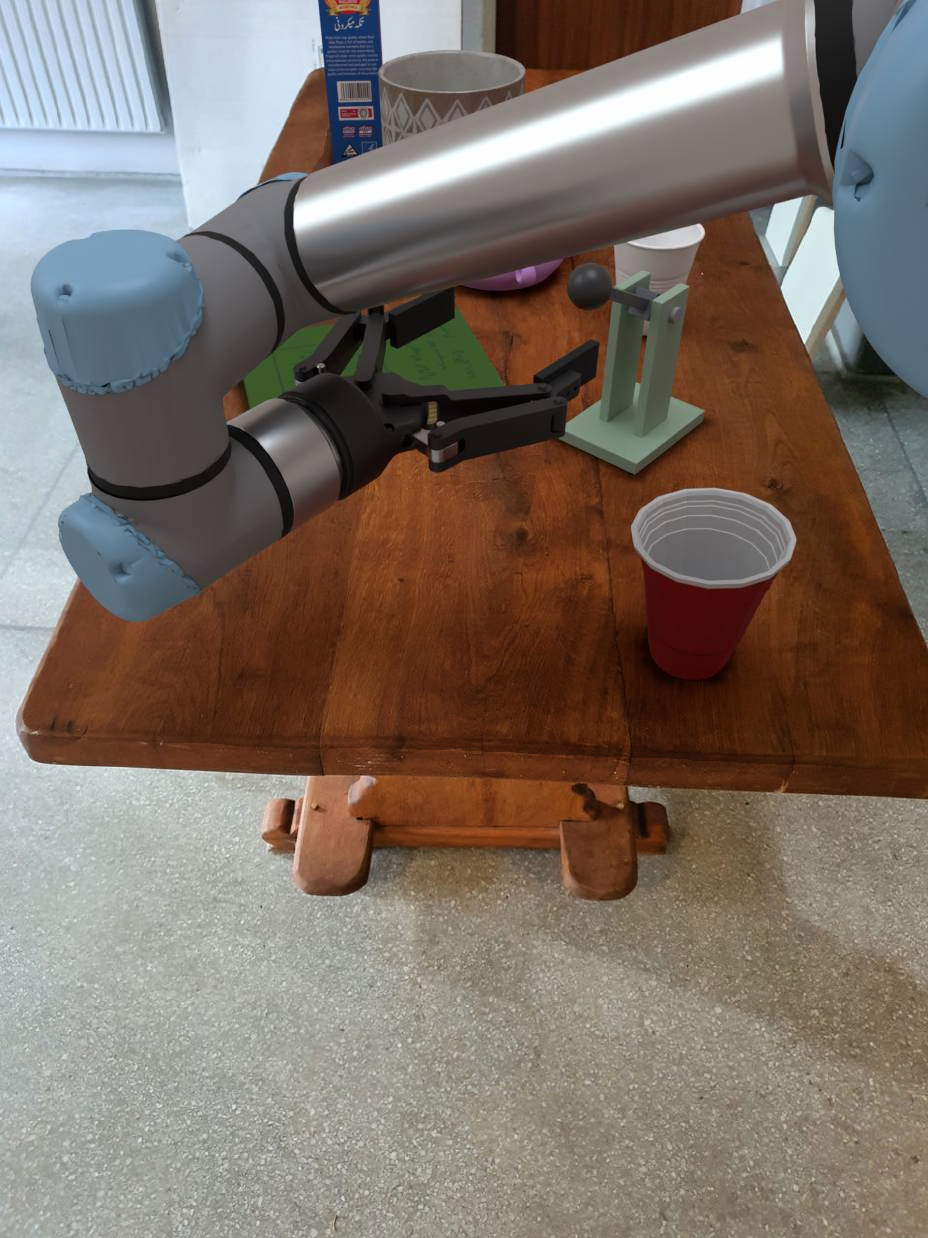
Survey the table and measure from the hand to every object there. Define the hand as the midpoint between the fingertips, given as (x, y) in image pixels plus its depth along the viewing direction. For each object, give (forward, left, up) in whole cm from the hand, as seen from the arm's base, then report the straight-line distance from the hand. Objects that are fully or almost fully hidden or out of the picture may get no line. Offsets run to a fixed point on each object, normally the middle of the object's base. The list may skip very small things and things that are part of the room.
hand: (519, 327), depth 70 cm
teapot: (+23, -45, -18) cm, 54 cm away
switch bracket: (-4, -18, -18) cm, 26 cm away
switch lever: (-3, -12, -4) cm, 13 cm away
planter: (+41, -61, -18) cm, 76 cm away
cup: (+3, -39, -18) cm, 43 cm away
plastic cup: (-19, +8, -18) cm, 27 cm away
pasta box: (+66, -74, -18) cm, 101 cm away
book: (+23, -11, -18) cm, 31 cm away
